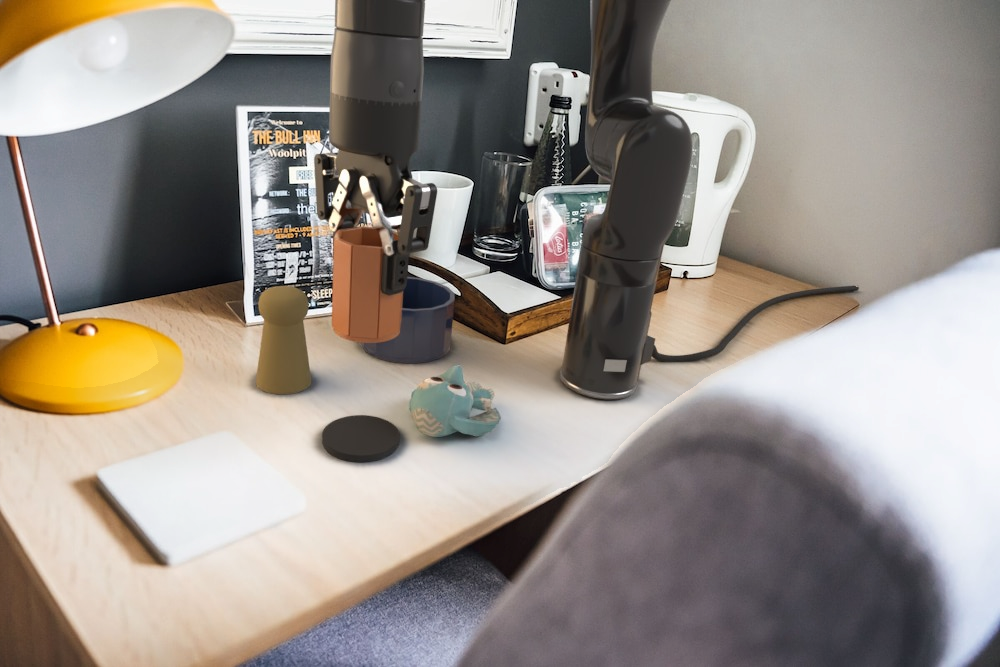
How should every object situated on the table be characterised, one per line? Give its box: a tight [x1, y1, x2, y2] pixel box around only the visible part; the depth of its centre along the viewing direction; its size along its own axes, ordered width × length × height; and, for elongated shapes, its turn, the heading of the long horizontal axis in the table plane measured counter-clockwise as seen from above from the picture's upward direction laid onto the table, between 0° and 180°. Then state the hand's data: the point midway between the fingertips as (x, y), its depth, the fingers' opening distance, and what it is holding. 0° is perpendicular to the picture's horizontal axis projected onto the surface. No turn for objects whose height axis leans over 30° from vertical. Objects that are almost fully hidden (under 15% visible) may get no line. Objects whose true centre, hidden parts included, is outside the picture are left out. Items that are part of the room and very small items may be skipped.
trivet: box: [321, 414, 401, 463], centre depth 77 cm, size 8×8×1 cm
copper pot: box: [331, 225, 403, 343], centre depth 70 cm, size 6×6×9 cm
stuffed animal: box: [408, 364, 502, 438], centre depth 81 cm, size 11×7×12 cm
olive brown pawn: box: [255, 285, 312, 395], centre depth 84 cm, size 6×6×11 cm
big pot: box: [359, 276, 456, 364], centre depth 98 cm, size 12×12×7 cm
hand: (367, 280), depth 70 cm, fingers closed on copper pot, 6 cm apart
